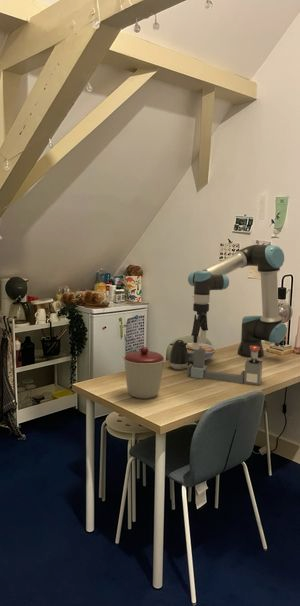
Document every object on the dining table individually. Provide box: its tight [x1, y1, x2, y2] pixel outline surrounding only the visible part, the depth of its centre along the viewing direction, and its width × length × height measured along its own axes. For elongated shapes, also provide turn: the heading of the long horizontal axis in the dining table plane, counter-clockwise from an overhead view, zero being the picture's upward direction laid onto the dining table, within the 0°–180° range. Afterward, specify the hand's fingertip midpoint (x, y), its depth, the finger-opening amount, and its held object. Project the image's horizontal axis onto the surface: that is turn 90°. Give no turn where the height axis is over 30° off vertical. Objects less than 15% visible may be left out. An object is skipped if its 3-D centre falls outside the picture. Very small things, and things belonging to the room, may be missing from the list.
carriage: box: [190, 348, 207, 380], centre depth 219 cm, size 7×6×14 cm
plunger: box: [250, 345, 260, 363], centre depth 211 cm, size 5×5×7 cm
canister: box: [122, 346, 166, 400], centre depth 192 cm, size 18×18×21 cm
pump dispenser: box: [168, 339, 190, 370], centre depth 232 cm, size 10×10×15 cm
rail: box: [186, 363, 245, 385], centre depth 217 cm, size 5×27×5 cm, turn 69°
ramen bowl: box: [169, 342, 218, 363], centre depth 248 cm, size 25×23×8 cm
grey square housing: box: [243, 358, 263, 386], centre depth 213 cm, size 7×7×10 cm
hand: (199, 346), depth 218 cm, fingers open, 13 cm apart
